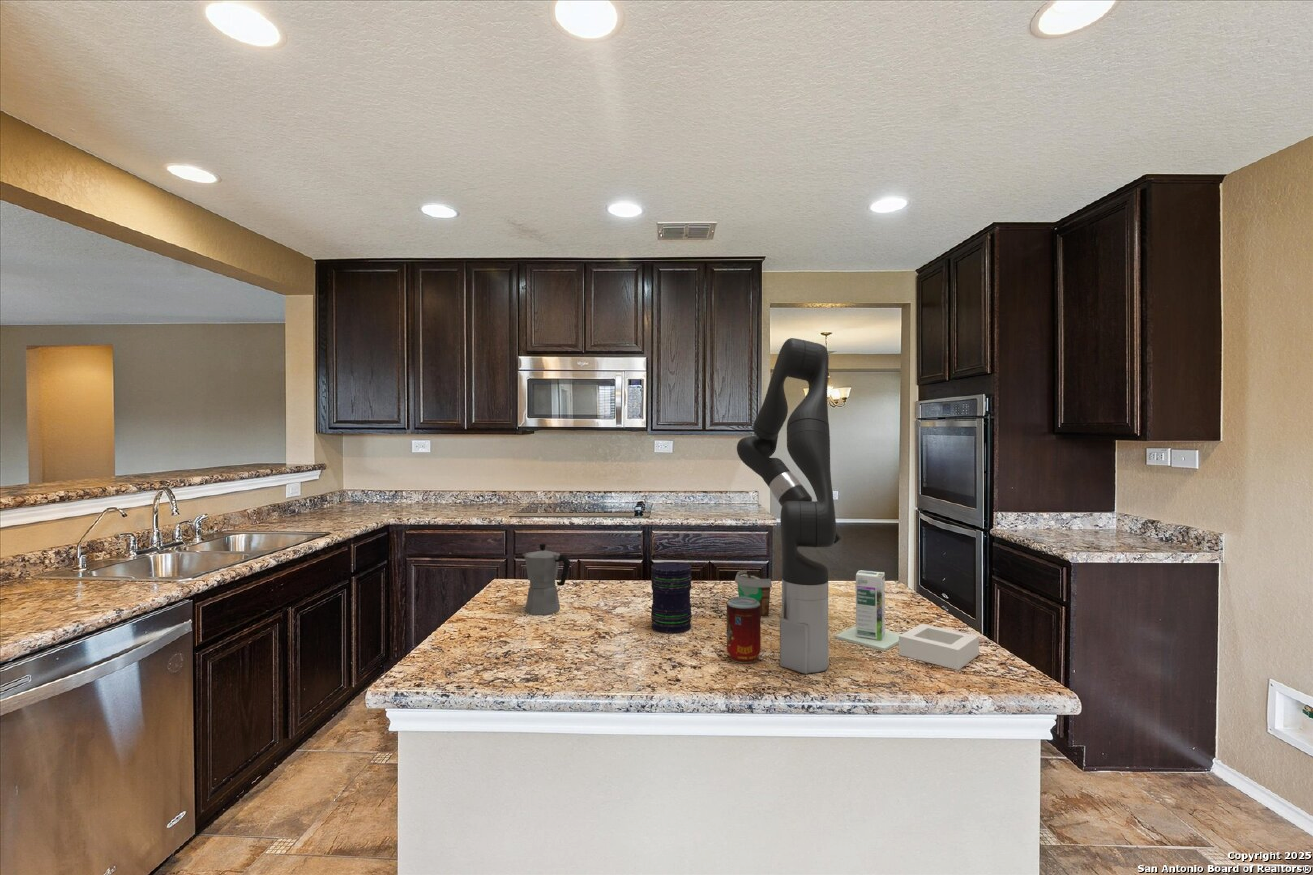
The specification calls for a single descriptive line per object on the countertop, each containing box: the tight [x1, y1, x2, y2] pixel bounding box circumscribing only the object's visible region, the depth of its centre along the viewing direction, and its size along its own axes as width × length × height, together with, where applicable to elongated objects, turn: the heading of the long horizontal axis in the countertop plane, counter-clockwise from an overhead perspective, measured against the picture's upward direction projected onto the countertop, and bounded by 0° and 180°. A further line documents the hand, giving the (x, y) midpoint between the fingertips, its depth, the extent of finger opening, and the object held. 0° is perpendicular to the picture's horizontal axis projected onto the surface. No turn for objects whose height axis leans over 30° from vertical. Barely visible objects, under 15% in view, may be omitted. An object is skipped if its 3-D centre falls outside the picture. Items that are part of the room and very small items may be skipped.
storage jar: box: [650, 561, 692, 635], centre depth 147 cm, size 10×10×15 cm
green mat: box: [833, 625, 902, 652], centre depth 139 cm, size 12×12×1 cm
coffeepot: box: [522, 543, 571, 616], centre depth 161 cm, size 15×9×18 cm, turn 62°
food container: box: [734, 569, 773, 617], centre depth 159 cm, size 12×6×10 cm, turn 25°
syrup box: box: [855, 569, 886, 640], centre depth 139 cm, size 6×6×14 cm
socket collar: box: [898, 623, 980, 671], centre depth 128 cm, size 12×12×4 cm
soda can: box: [726, 596, 762, 664], centre depth 126 cm, size 7×7×12 cm
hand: (827, 543), depth 148 cm, fingers open, 8 cm apart
